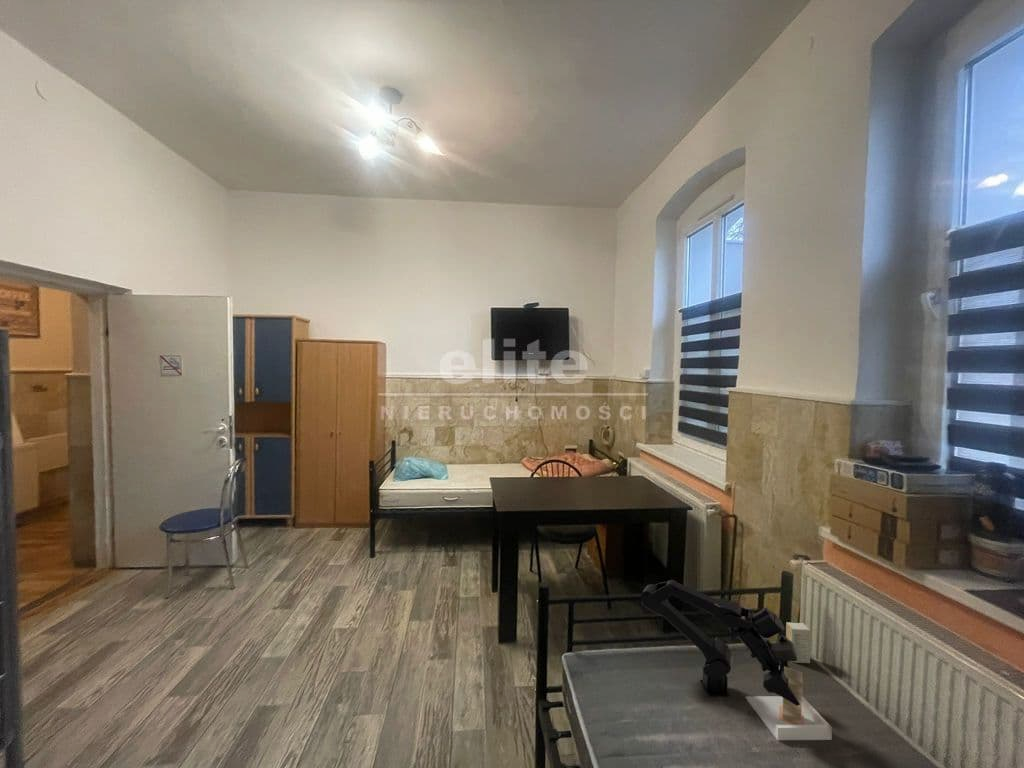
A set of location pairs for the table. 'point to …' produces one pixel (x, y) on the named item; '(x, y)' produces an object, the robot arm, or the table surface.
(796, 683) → the birch block
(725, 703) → the table surface
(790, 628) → the skincare box
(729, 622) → the robot arm
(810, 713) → the tray
